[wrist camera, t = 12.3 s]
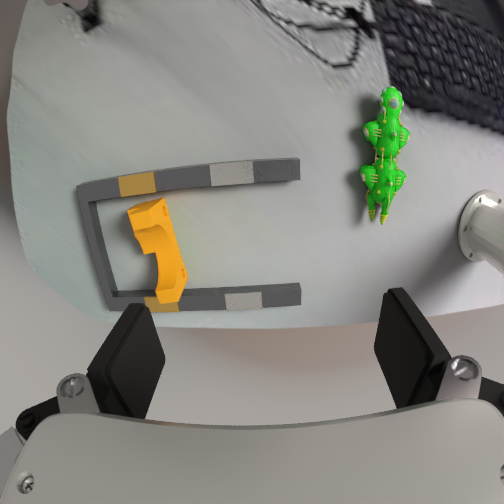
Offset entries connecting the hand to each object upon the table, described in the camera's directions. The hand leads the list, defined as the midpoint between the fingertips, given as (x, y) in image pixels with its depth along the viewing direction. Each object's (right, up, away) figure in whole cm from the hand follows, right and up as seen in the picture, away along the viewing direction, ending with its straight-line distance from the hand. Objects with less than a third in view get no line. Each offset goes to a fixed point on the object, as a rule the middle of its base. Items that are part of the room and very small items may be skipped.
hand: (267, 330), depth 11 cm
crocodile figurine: (+16, +16, +23) cm, 32 cm away
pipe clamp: (-13, +5, +28) cm, 32 cm away
